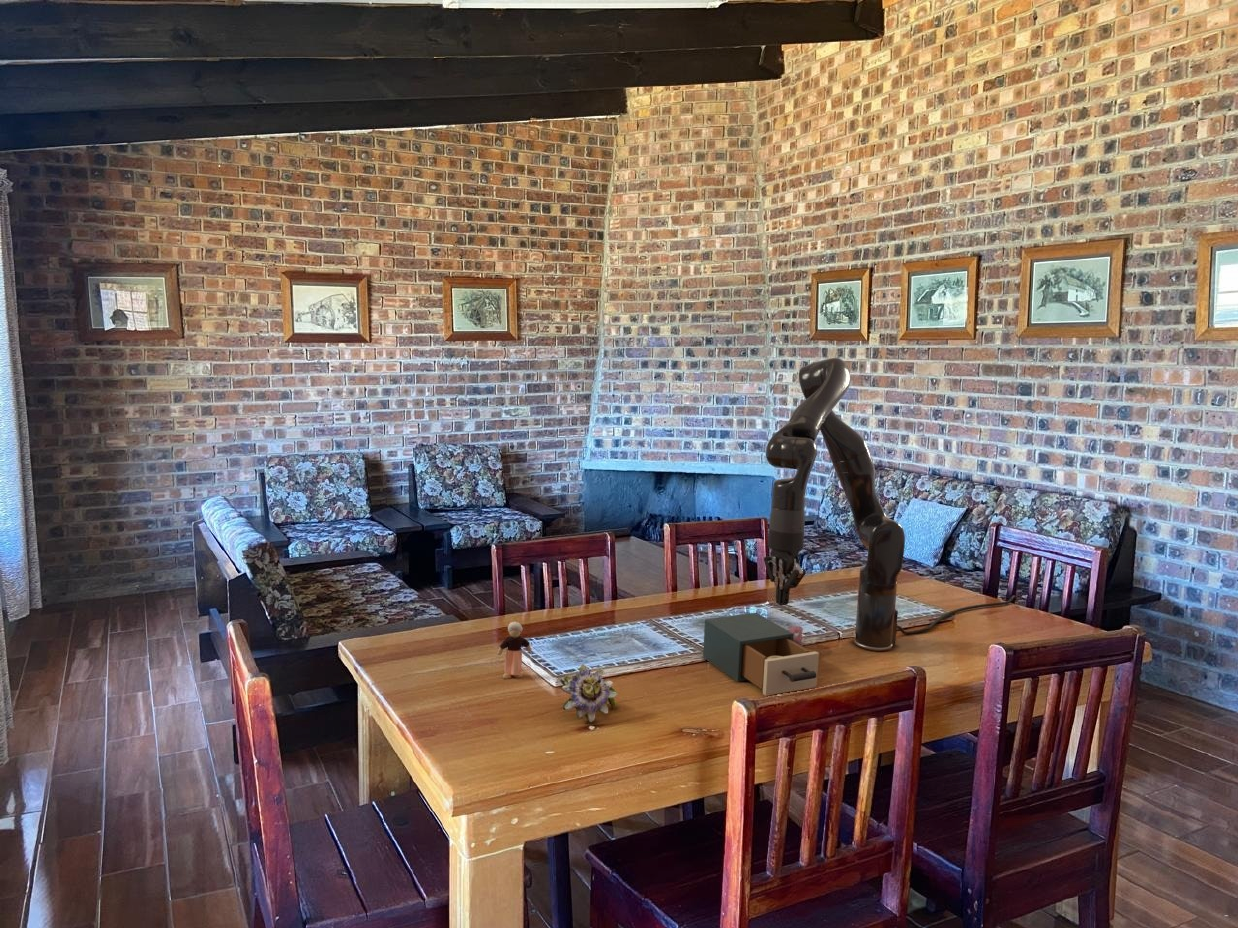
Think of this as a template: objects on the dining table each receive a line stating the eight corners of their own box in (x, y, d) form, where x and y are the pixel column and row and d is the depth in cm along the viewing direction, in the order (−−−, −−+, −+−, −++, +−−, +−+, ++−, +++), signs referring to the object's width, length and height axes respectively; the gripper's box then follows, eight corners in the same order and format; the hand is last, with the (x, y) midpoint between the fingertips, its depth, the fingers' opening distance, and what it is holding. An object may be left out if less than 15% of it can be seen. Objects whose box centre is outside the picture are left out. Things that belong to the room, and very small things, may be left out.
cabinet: (791, 672, 203) (793, 633, 202) (737, 681, 197) (739, 641, 195) (754, 649, 217) (756, 612, 215) (702, 657, 211) (704, 619, 209)
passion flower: (590, 745, 177) (564, 710, 170) (566, 715, 185) (541, 680, 179) (633, 709, 179) (610, 673, 173) (608, 681, 188) (585, 646, 181)
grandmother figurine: (501, 681, 193) (501, 626, 191) (495, 675, 197) (496, 621, 195) (533, 676, 197) (534, 622, 195) (527, 669, 200) (528, 616, 198)
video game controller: (792, 662, 213) (807, 639, 212) (775, 652, 214) (790, 629, 212) (792, 647, 223) (806, 625, 221) (776, 638, 223) (790, 616, 222)
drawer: (828, 694, 190) (831, 660, 188) (777, 703, 184) (779, 668, 183) (778, 662, 207) (780, 631, 205) (730, 670, 201) (731, 638, 200)
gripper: (819, 533, 186) (814, 611, 188) (783, 519, 197) (778, 593, 200) (790, 535, 182) (785, 615, 185) (755, 521, 194) (750, 596, 197)
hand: (781, 603), depth 193 cm, fingers closed
